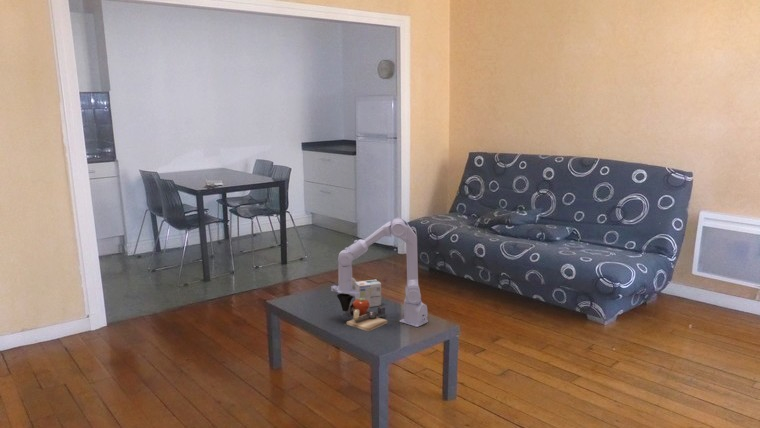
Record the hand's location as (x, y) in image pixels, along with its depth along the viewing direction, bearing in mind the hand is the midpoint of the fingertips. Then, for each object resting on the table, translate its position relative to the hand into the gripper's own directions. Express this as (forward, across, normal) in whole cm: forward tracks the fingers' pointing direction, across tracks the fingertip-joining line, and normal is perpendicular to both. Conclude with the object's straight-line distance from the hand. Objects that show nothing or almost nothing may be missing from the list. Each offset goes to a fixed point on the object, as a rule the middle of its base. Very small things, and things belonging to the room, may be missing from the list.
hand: (345, 310), depth 238 cm
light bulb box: (+5, -6, +22) cm, 23 cm away
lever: (+3, +7, +7) cm, 10 cm away
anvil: (+5, -5, +8) cm, 11 cm away
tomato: (+5, -1, +11) cm, 12 cm away
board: (+5, +9, +4) cm, 11 cm away
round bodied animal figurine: (+5, -24, +27) cm, 37 cm away
